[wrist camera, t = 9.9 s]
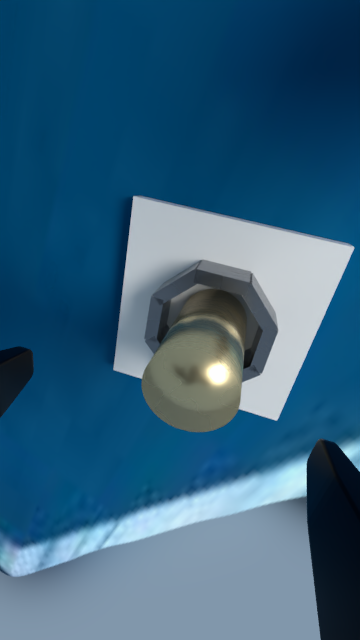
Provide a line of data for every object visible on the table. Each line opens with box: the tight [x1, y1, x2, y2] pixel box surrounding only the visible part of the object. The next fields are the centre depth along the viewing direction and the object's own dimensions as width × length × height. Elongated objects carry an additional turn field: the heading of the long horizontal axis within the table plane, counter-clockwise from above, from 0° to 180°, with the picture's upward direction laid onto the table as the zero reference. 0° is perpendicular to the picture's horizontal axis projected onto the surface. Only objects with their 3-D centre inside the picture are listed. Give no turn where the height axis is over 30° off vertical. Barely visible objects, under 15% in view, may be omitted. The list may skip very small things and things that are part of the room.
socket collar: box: [144, 260, 278, 382], centre depth 19 cm, size 8×8×2 cm
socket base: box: [113, 196, 355, 421], centre depth 21 cm, size 13×13×1 cm
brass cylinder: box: [142, 289, 247, 432], centre depth 17 cm, size 4×4×8 cm
